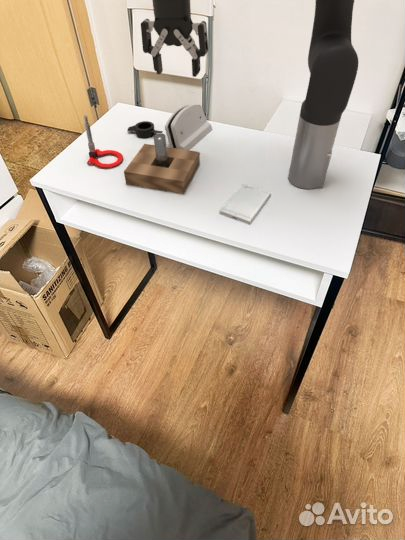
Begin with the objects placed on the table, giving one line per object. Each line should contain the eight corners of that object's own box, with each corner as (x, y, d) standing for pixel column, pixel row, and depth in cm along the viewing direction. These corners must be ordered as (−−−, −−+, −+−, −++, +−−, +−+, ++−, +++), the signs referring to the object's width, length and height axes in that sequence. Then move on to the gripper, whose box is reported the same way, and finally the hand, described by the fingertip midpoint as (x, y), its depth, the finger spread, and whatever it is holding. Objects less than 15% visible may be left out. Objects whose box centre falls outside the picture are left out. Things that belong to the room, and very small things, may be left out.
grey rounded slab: (184, 154, 109) (172, 120, 103) (172, 155, 112) (159, 122, 106) (213, 129, 118) (203, 96, 112) (201, 130, 121) (191, 98, 115)
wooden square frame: (199, 164, 105) (199, 151, 102) (184, 194, 96) (183, 181, 93) (146, 156, 108) (144, 143, 105) (126, 184, 99) (123, 171, 96)
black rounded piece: (145, 124, 121) (144, 116, 119) (165, 136, 116) (164, 127, 114) (125, 133, 118) (124, 124, 115) (146, 145, 113) (144, 136, 111)
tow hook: (127, 155, 110) (97, 151, 110) (122, 112, 100) (88, 108, 101) (117, 172, 104) (85, 167, 105) (111, 128, 94) (75, 123, 95)
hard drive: (241, 183, 97) (219, 210, 90) (271, 192, 95) (250, 221, 88) (241, 188, 99) (219, 215, 92) (270, 198, 96) (249, 226, 89)
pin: (170, 172, 103) (167, 134, 95) (166, 178, 101) (163, 140, 93) (160, 170, 104) (156, 132, 95) (156, 176, 102) (151, 138, 93)
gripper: (210, -17, 75) (211, 70, 87) (143, -19, 78) (153, 65, 90) (200, -7, 70) (203, 83, 82) (129, -9, 73) (142, 78, 85)
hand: (177, 74), depth 86 cm, fingers open, 8 cm apart
